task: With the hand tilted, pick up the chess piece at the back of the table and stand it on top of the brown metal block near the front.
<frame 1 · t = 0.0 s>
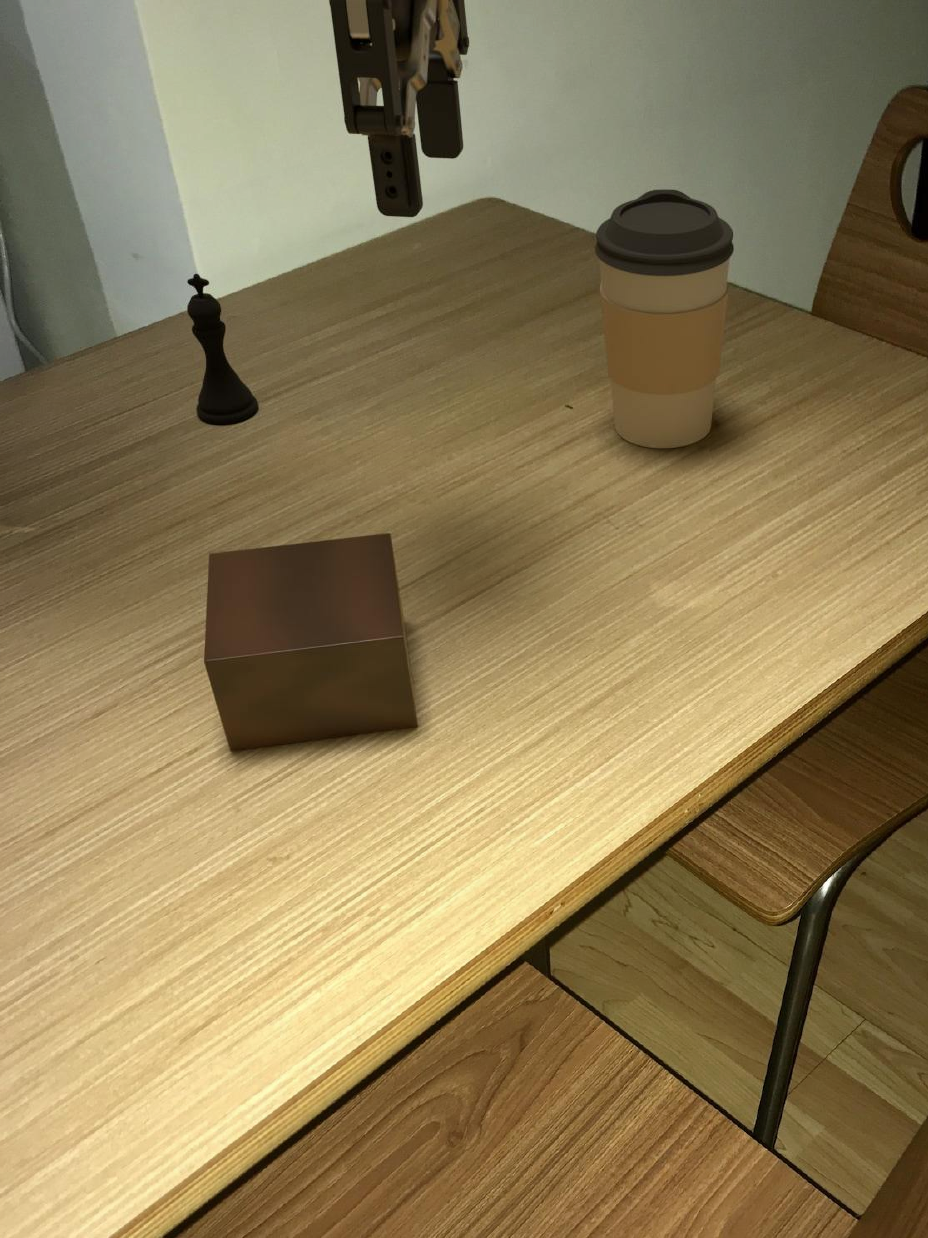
hand: (423, 184, 70), 21 cm above the table, tool pointing down, fingers open, 8 cm apart
coffee cup: (662, 427, 96), on the table
brown metal block: (321, 682, 75), on the table
chess piece: (228, 412, 98), on the table
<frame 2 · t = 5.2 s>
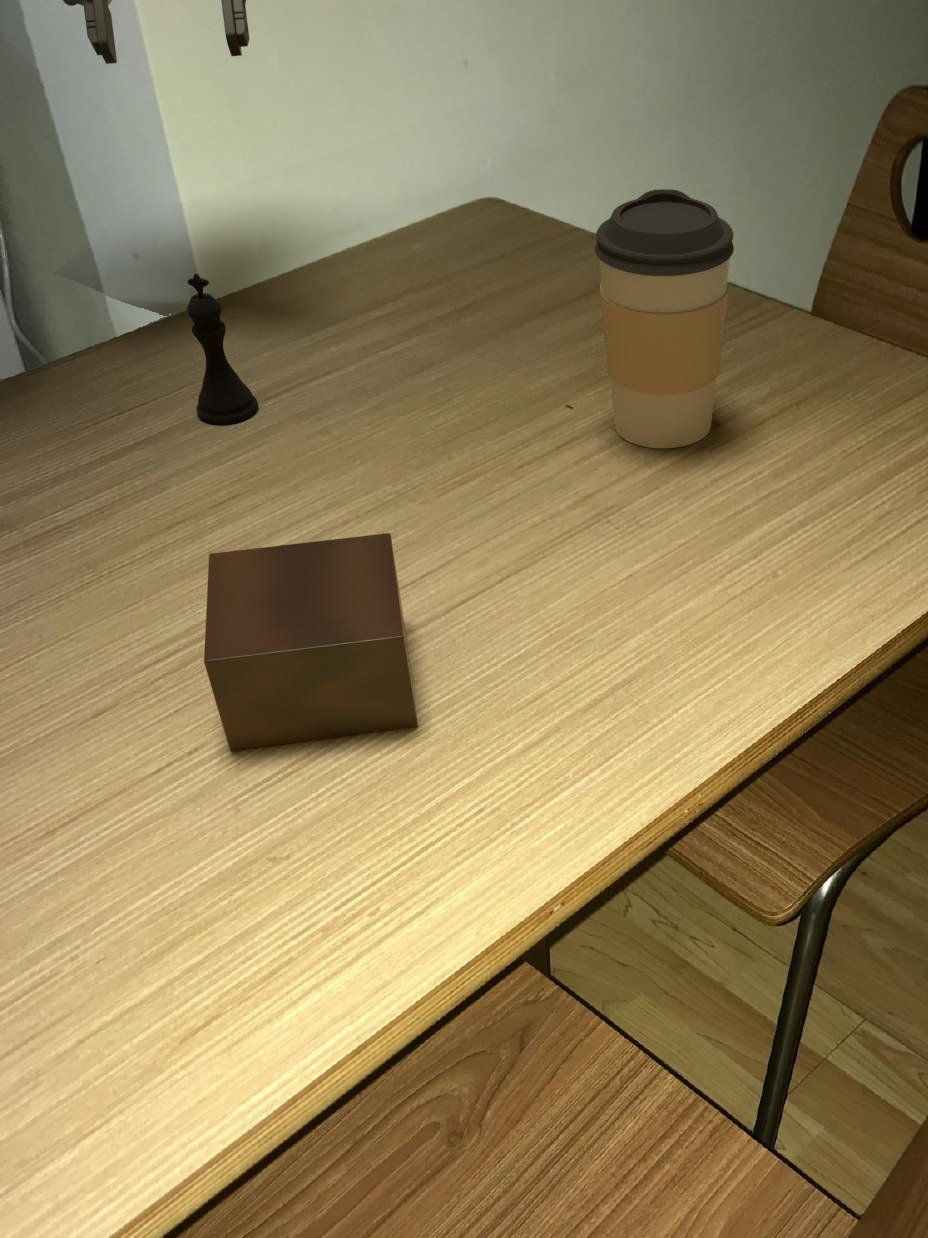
hand: (171, 53, 92), 20 cm above the table, tool tilted 45°, fingers open, 8 cm apart
nothing on the table moved.
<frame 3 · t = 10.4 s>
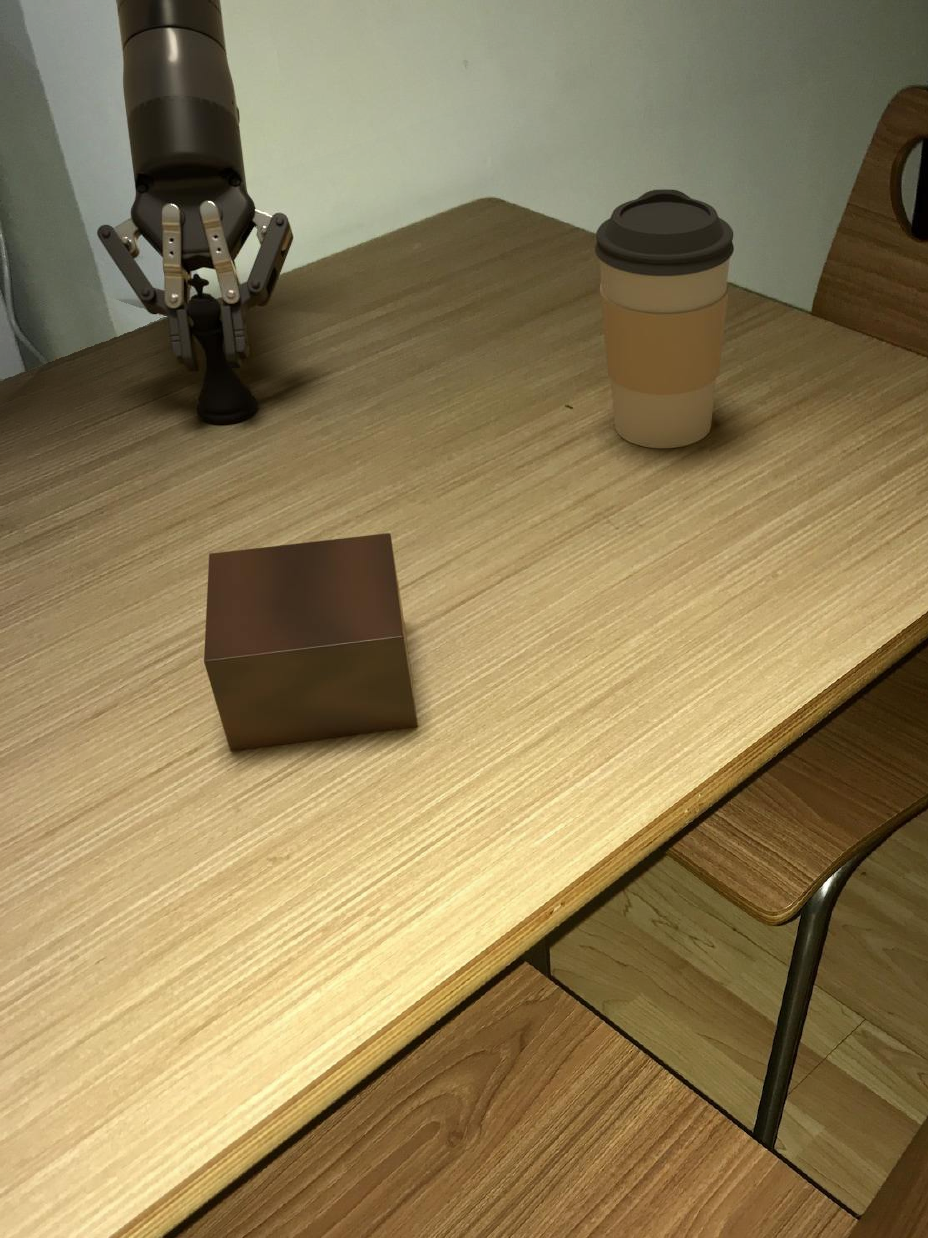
hand: (213, 365, 94), 4 cm above the table, tool tilted 45°, fingers closed on chess piece, 2 cm apart
chess piece: (228, 412, 98), on the table, touching gripper
everything else where it was.
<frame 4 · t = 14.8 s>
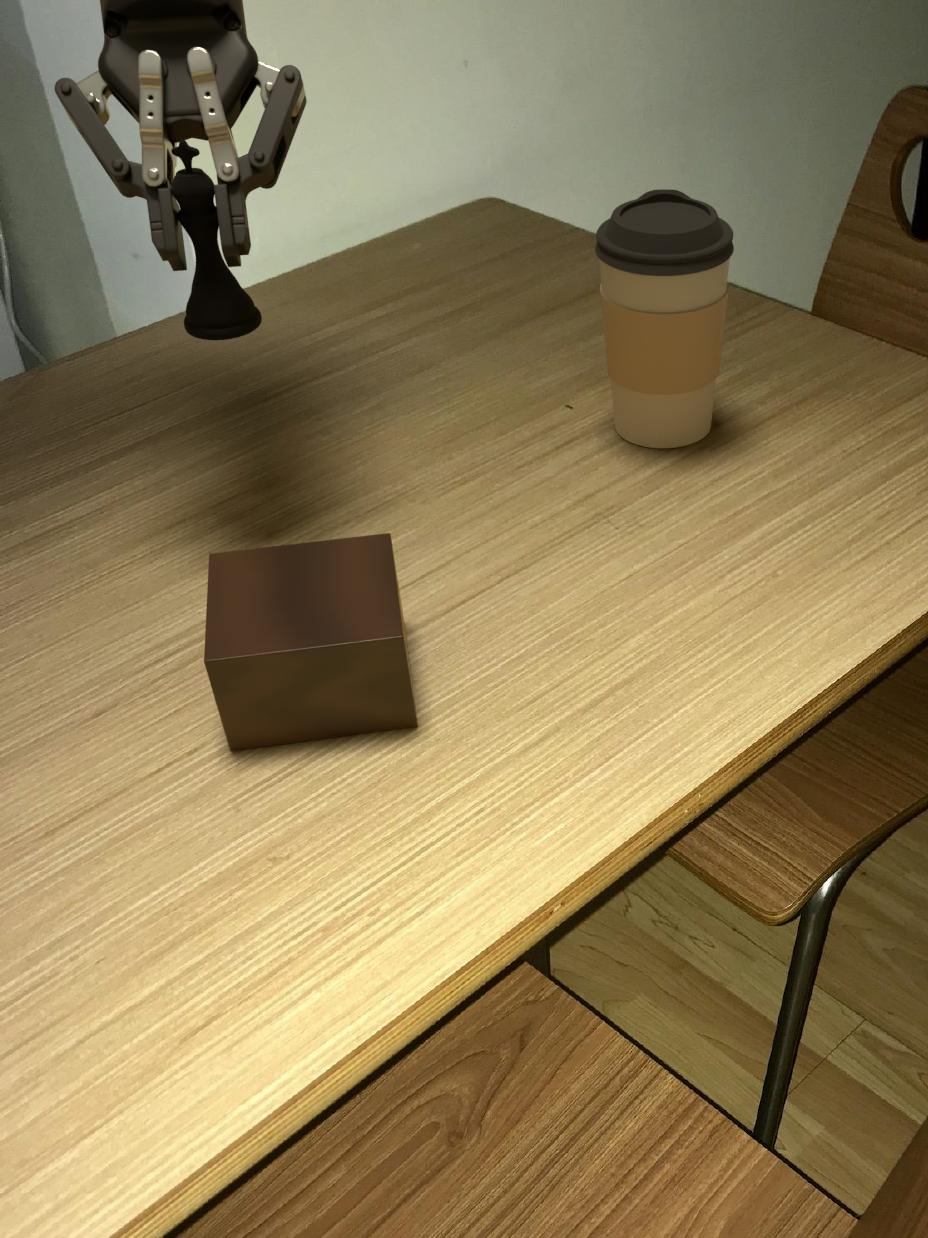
hand: (205, 261, 73), 18 cm above the table, tool tilted 45°, fingers closed on chess piece, 2 cm apart
chess piece: (224, 327, 78), point 13 cm above the table, touching gripper
everything else where it was.
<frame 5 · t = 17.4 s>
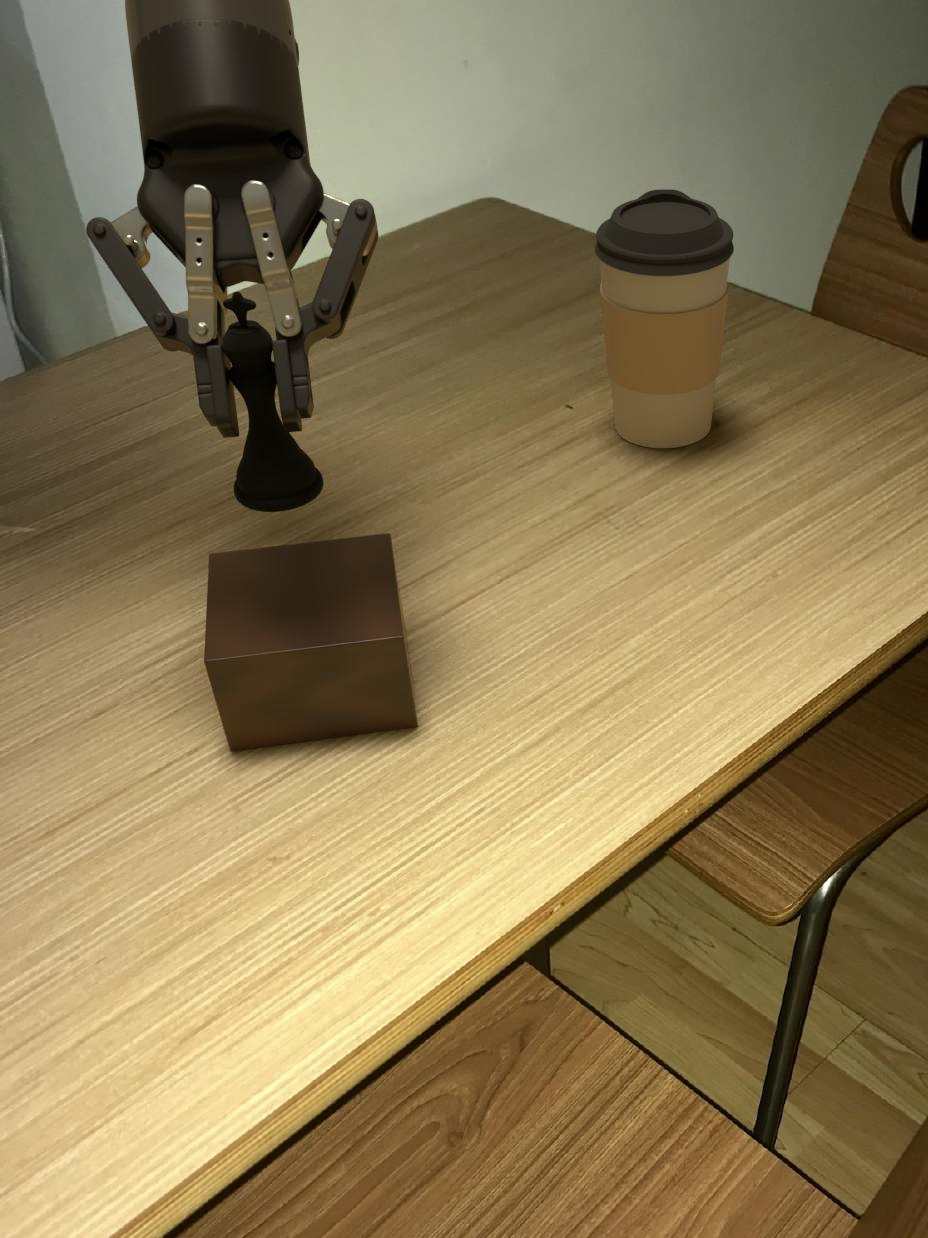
hand: (260, 428, 62), 16 cm above the table, tool tilted 45°, fingers closed on chess piece, 2 cm apart
chess piece: (280, 493, 67), point 12 cm above the table, touching gripper
everything else where it was.
when the fingers open (10 cm above the table, at t = 19.3 s): chess piece stays where it is, resting on brown metal block.
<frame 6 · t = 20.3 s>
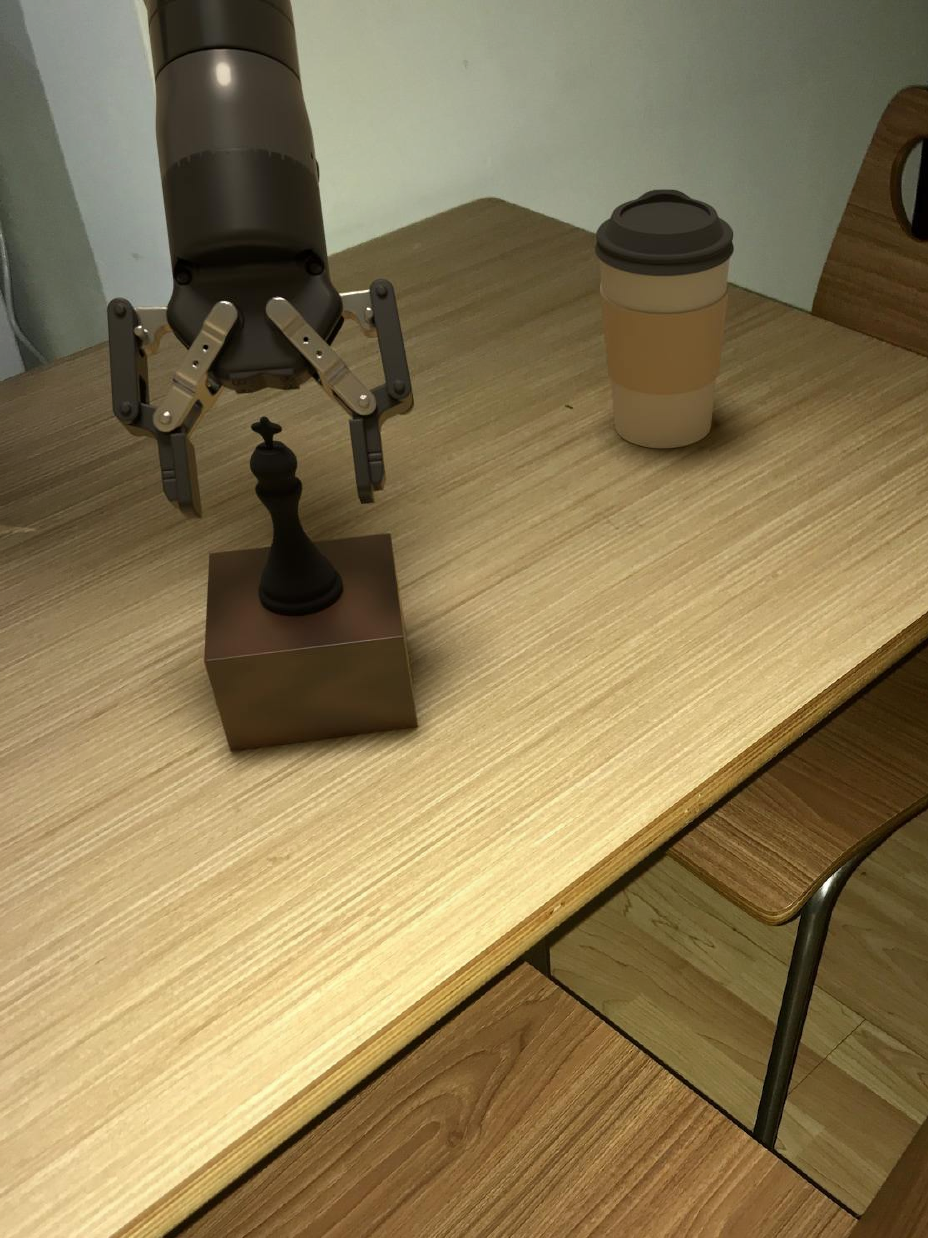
hand: (280, 507, 66), 12 cm above the table, tool tilted 45°, fingers open, 8 cm apart
brown metal block: (321, 682, 75), on the table, touching chess piece
chess piece: (302, 594, 71), point 6 cm above the table, touching brown metal block
everything else where it was.
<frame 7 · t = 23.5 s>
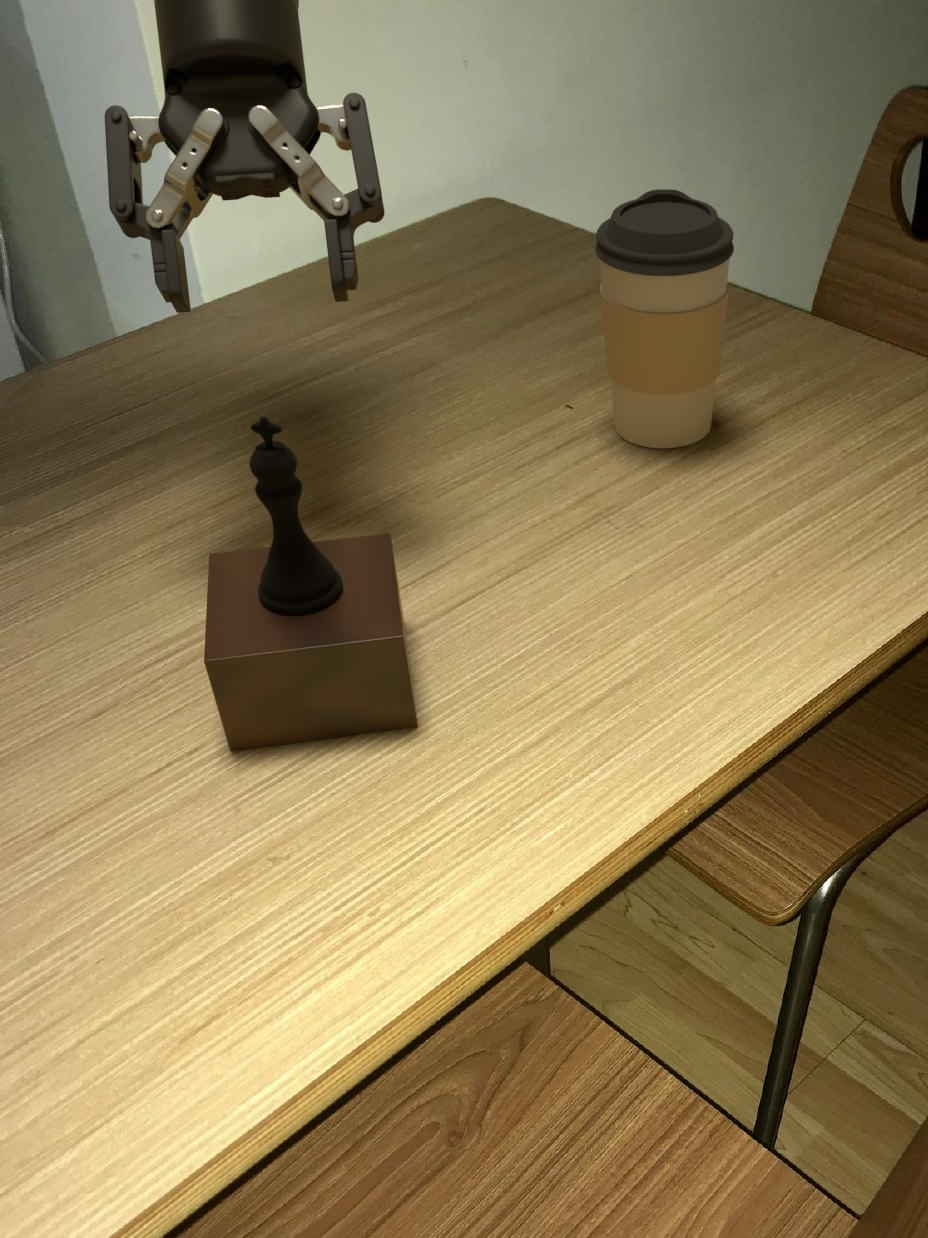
hand: (261, 301, 72), 16 cm above the table, tool tilted 45°, fingers open, 8 cm apart
nothing on the table moved.
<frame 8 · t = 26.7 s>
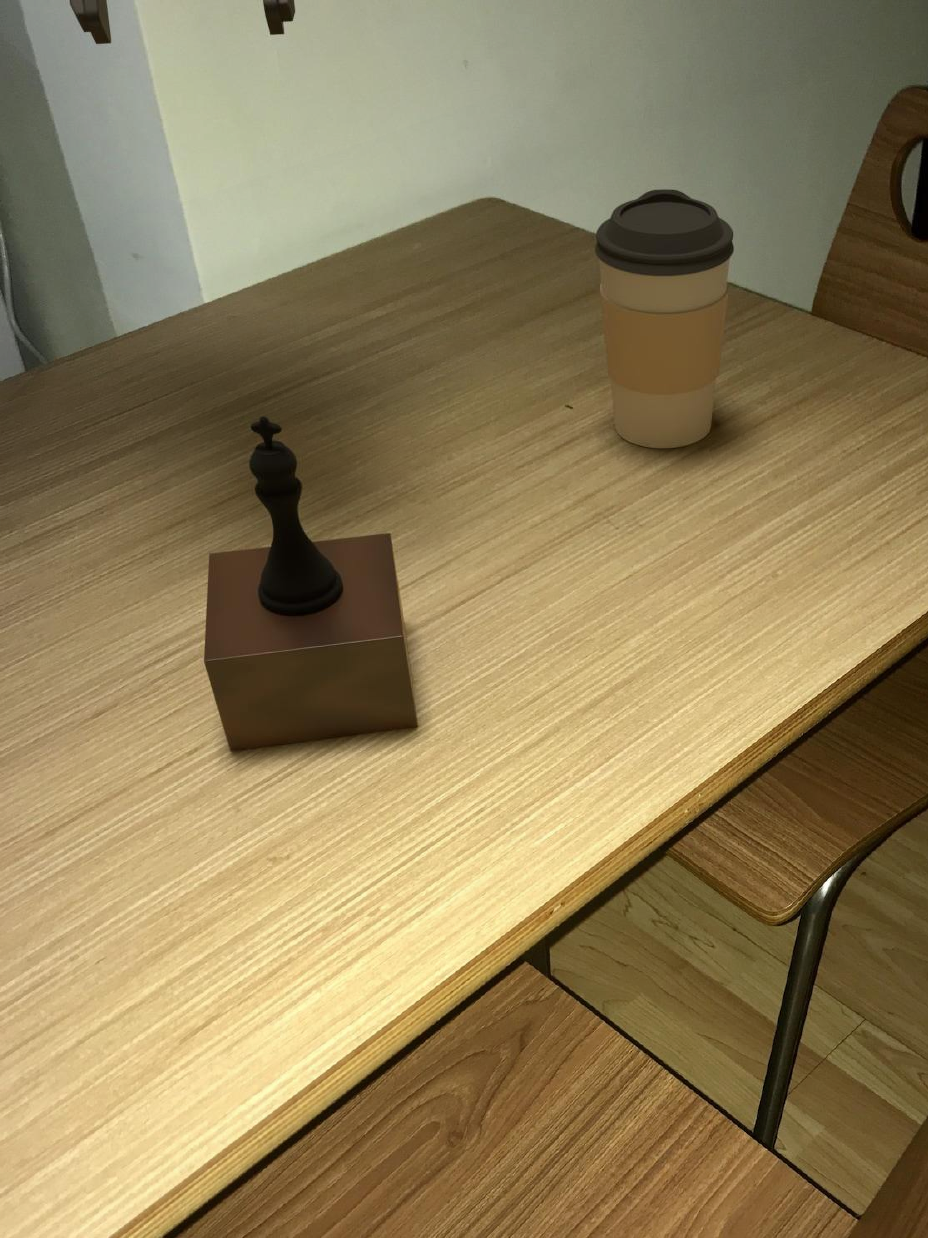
hand: (188, 30, 66), 29 cm above the table, tool tilted 45°, fingers open, 8 cm apart
nothing on the table moved.
at the end: chess piece inside the target area on the brown metal block (0.1 cm from its centre), point 5.8 cm above the brown metal block's base; chess piece tilted 0°; the gripper is holding nothing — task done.
